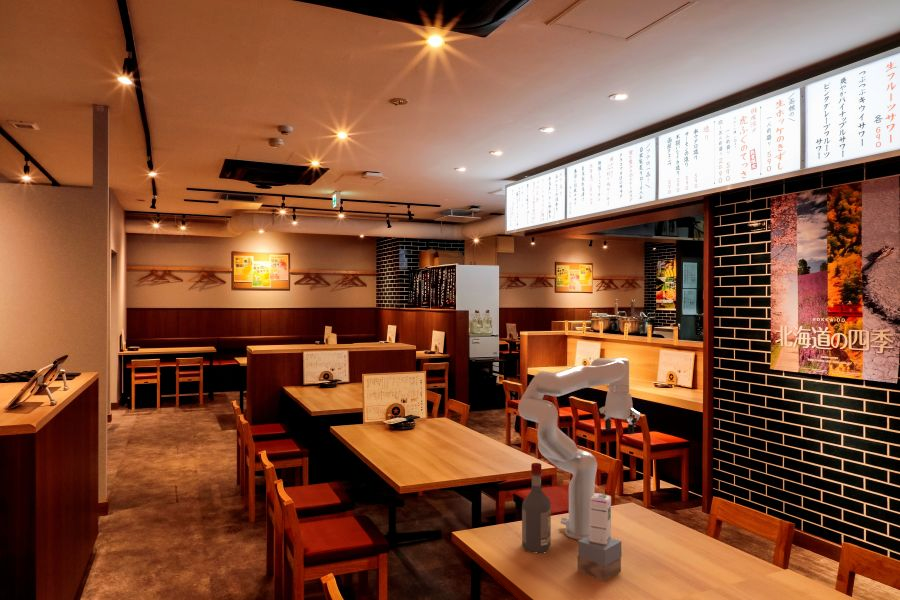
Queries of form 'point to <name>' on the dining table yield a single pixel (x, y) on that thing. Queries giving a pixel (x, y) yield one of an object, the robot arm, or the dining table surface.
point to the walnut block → (598, 568)
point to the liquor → (536, 516)
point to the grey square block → (599, 550)
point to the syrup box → (600, 518)
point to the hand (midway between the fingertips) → (619, 432)
